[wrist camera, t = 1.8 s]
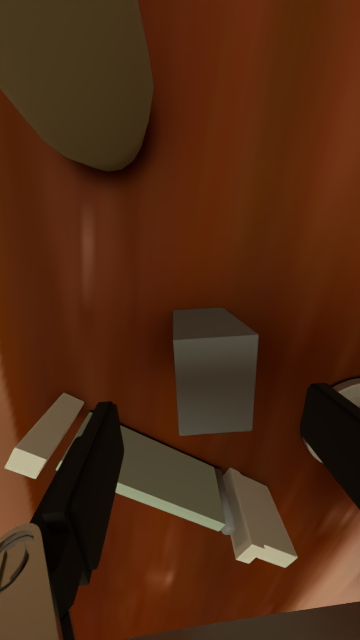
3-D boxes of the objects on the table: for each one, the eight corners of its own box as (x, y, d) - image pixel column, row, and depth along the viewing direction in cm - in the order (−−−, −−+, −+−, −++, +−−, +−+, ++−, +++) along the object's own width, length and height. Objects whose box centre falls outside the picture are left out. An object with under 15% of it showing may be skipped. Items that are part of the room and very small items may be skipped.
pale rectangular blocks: (268, 484, 25) (303, 563, 19) (256, 496, 26) (286, 576, 19) (64, 391, 20) (9, 452, 14) (54, 408, 21) (-2, 475, 14)
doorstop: (222, 307, 18) (258, 334, 11) (222, 369, 20) (251, 430, 13) (173, 310, 18) (173, 340, 11) (177, 372, 20) (179, 435, 12)
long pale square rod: (223, 470, 24) (238, 528, 19) (213, 482, 24) (225, 541, 19) (90, 410, 21) (61, 459, 15) (81, 425, 21) (51, 477, 16)
